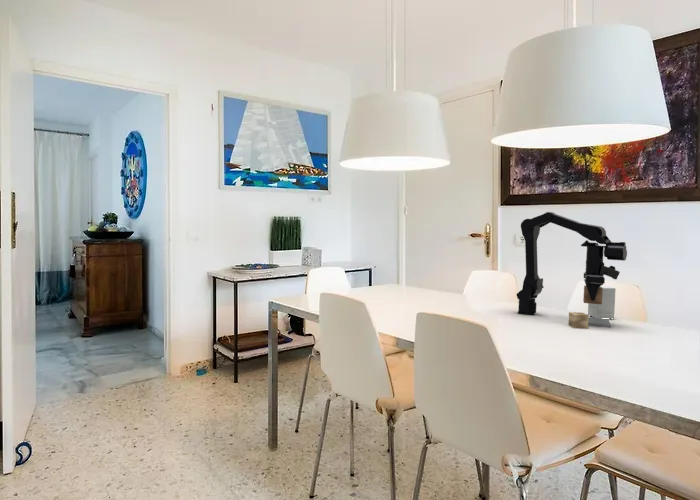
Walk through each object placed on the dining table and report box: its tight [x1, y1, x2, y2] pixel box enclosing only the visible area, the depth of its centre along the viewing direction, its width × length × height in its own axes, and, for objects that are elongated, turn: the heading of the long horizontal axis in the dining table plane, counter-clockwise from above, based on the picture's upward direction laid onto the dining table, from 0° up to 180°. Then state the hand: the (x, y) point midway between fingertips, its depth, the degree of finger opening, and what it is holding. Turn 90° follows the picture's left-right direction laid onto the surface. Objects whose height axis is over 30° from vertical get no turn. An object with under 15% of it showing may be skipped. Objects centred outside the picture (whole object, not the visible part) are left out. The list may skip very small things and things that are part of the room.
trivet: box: [588, 316, 612, 328], centre depth 179 cm, size 12×12×1 cm
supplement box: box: [587, 285, 616, 320], centre depth 190 cm, size 7×7×13 cm
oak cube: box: [567, 311, 590, 329], centre depth 171 cm, size 5×5×5 cm
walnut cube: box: [582, 285, 603, 304], centre depth 178 cm, size 6×6×6 cm
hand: (592, 299), depth 178 cm, fingers closed on walnut cube, 6 cm apart
